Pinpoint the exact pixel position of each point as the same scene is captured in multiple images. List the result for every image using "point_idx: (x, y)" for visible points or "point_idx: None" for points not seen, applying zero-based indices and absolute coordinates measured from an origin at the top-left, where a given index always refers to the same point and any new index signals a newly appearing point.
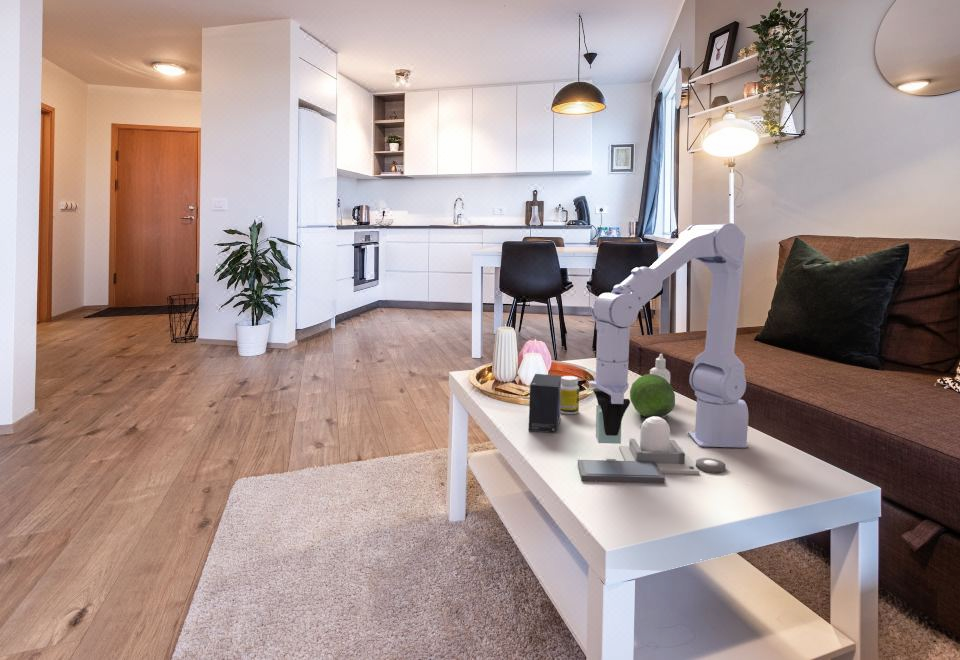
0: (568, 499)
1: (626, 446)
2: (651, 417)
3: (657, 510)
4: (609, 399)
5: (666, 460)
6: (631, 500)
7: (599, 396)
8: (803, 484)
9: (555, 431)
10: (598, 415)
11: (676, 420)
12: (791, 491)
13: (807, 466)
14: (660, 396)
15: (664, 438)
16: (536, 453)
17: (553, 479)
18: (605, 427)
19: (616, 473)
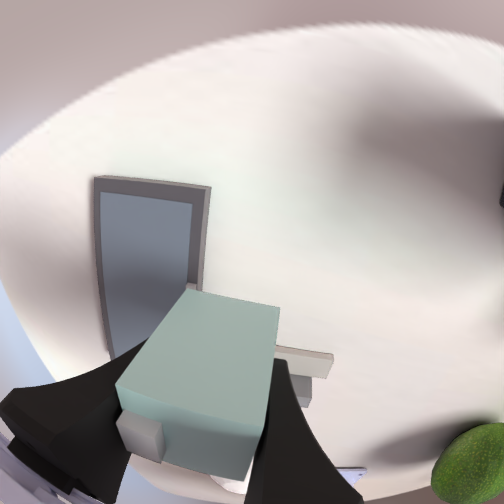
0: (39, 134)
1: (323, 374)
2: (244, 485)
3: (31, 287)
4: (31, 448)
5: None
6: (45, 261)
7: (257, 491)
8: (157, 471)
9: (502, 202)
10: (163, 371)
11: (431, 460)
12: (134, 454)
13: (212, 495)
14: (445, 489)
15: None
16: (333, 65)
17: (117, 98)
18: (134, 347)
19: (107, 275)
